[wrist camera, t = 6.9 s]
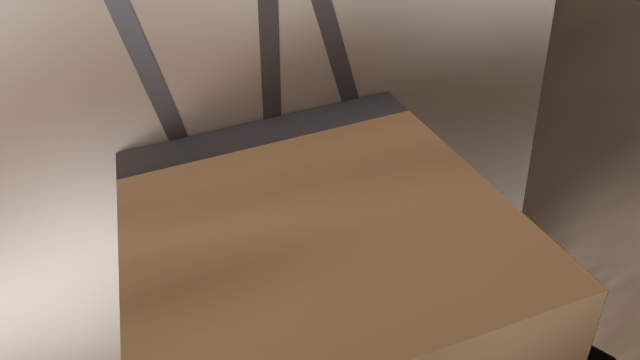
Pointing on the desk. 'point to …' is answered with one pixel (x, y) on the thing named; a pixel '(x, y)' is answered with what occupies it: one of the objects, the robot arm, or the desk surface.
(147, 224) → the block
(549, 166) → the desk surface
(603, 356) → the robot arm
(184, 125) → the board
